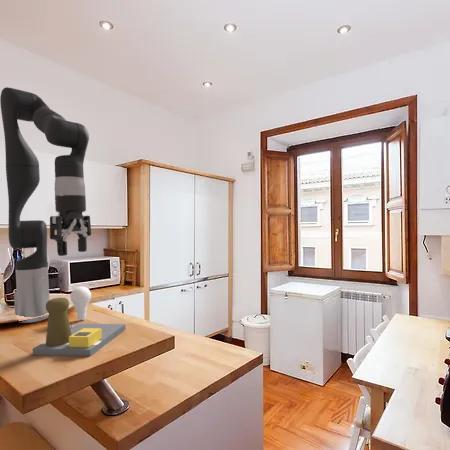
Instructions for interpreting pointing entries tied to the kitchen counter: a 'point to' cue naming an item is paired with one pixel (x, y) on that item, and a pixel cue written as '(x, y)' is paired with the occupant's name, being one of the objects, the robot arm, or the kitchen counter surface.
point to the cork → (57, 322)
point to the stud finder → (85, 337)
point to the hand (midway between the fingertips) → (73, 253)
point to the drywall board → (107, 335)
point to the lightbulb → (80, 301)
